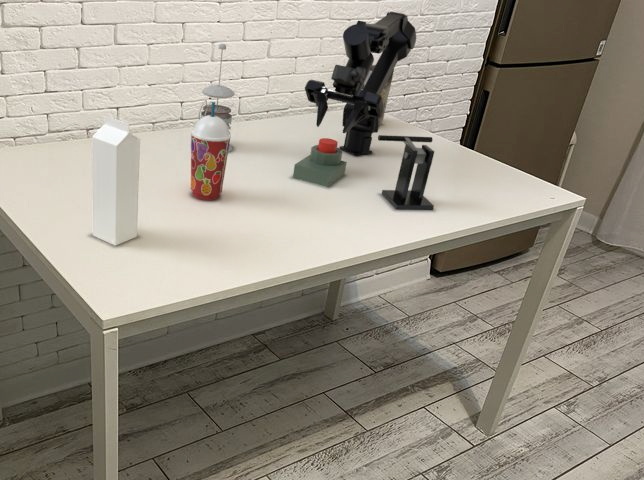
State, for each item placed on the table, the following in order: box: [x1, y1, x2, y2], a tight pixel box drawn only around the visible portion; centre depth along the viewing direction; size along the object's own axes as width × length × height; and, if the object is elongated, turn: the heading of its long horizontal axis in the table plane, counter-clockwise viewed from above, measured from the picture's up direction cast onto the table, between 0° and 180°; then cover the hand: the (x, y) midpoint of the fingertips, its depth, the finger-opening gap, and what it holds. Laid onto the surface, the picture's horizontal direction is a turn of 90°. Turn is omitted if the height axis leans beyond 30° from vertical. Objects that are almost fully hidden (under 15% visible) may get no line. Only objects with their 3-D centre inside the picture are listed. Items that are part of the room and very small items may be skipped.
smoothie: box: [190, 101, 232, 201], centre depth 155 cm, size 8×8×20 cm
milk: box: [91, 115, 141, 246], centre depth 133 cm, size 6×6×22 cm
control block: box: [292, 144, 347, 188], centre depth 176 cm, size 12×9×6 cm
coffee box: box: [361, 64, 395, 126], centre depth 216 cm, size 9×6×16 cm
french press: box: [198, 43, 236, 153], centre depth 181 cm, size 10×12×25 cm
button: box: [317, 137, 339, 154], centre depth 176 cm, size 4×4×2 cm
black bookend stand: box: [381, 144, 435, 211], centre depth 165 cm, size 9×9×13 cm
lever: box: [377, 134, 433, 165], centre depth 165 cm, size 10×13×2 cm
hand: (330, 129), depth 173 cm, fingers open, 6 cm apart
